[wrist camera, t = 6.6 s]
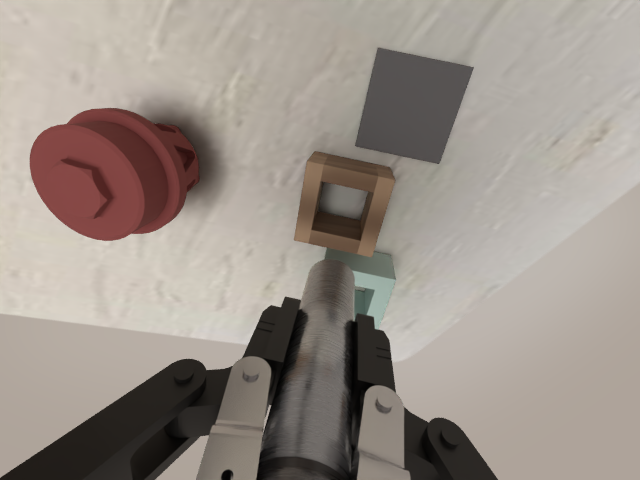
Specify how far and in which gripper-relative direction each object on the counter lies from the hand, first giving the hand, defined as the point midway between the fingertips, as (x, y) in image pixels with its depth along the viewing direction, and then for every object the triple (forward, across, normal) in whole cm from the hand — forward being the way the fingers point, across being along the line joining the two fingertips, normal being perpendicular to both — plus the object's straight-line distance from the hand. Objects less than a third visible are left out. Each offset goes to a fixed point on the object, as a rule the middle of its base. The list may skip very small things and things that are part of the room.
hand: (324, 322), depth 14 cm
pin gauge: (+4, 0, 0) cm, 4 cm away
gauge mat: (+19, -4, -9) cm, 22 cm away
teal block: (+20, -3, +9) cm, 22 cm away
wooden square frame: (+20, 0, 0) cm, 20 cm away
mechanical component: (+20, +18, 0) cm, 27 cm away
